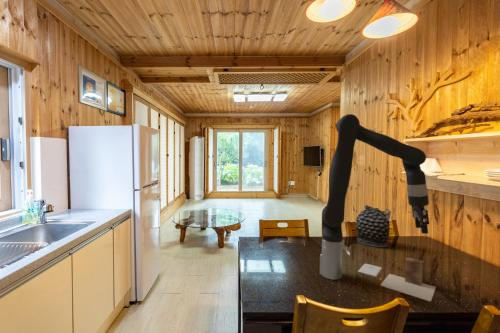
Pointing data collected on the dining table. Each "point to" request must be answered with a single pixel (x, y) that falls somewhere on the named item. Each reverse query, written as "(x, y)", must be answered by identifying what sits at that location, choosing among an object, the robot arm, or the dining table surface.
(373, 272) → the external hard drive
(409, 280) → the card box
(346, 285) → the dining table surface
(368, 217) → the dark studded dome
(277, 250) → the dining table surface
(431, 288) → the mat
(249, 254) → the dining table surface
